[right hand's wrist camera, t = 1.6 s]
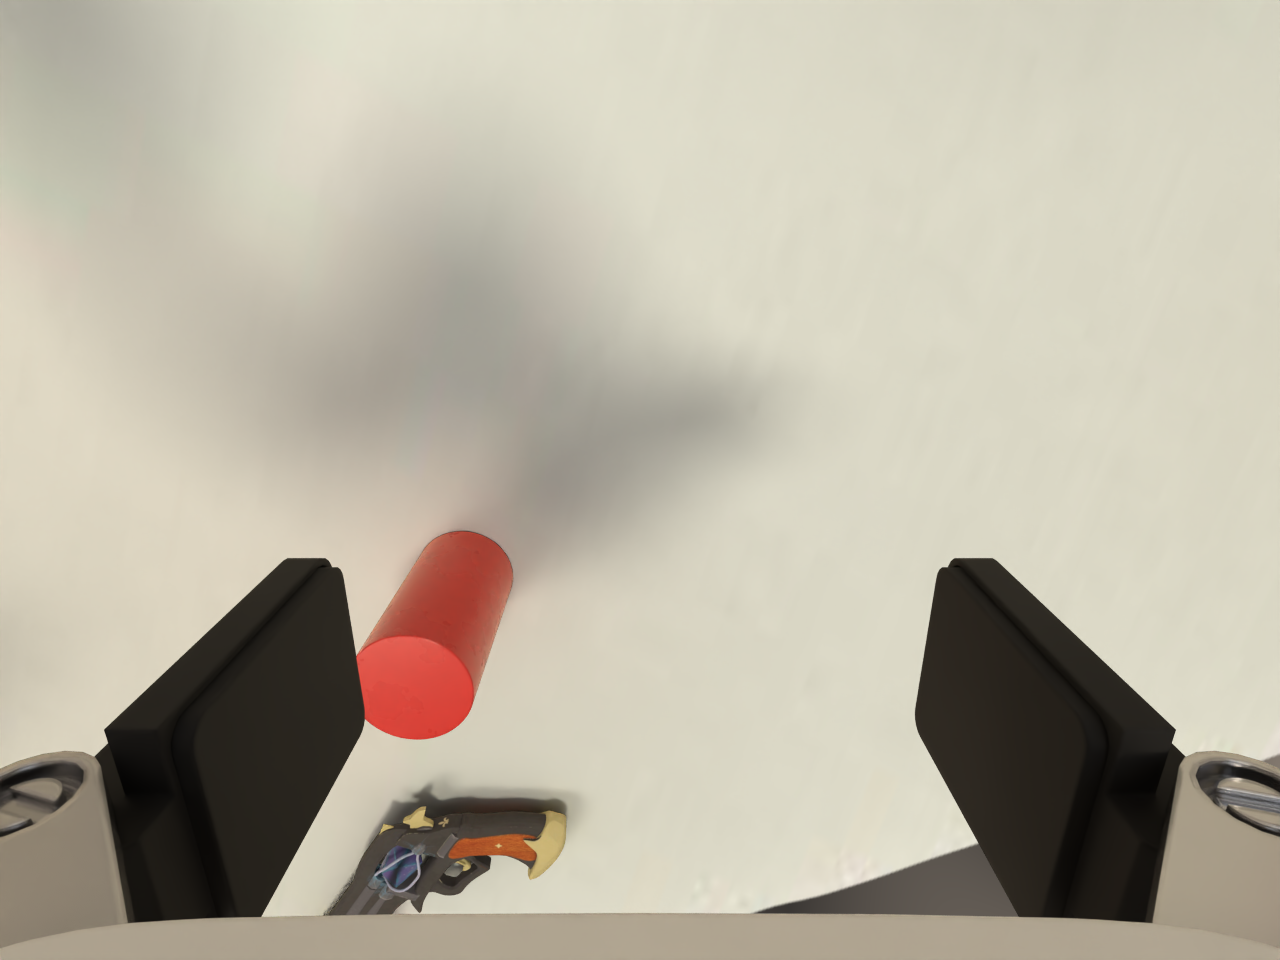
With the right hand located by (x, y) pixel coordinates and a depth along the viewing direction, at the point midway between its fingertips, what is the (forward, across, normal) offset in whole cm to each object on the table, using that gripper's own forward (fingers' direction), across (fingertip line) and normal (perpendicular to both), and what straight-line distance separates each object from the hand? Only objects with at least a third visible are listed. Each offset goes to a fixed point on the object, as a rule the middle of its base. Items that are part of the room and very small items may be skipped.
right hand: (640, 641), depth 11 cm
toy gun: (+24, -13, -32) cm, 42 cm away
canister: (+24, -9, -11) cm, 28 cm away
